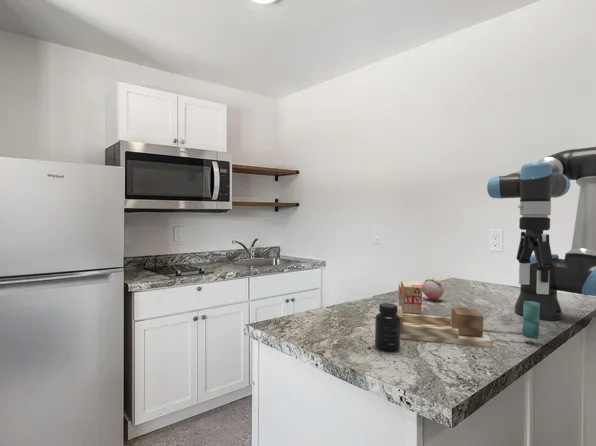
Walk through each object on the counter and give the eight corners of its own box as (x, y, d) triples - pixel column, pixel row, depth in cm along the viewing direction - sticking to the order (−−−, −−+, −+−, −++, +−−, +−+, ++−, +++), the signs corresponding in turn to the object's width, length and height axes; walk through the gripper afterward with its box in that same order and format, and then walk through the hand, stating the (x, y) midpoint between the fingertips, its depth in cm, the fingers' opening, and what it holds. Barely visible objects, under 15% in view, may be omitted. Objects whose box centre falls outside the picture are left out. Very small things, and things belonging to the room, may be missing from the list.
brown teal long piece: (532, 332, 110) (533, 299, 110) (544, 342, 102) (546, 306, 101) (451, 325, 116) (452, 294, 116) (456, 334, 107) (457, 300, 107)
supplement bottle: (371, 343, 104) (372, 302, 103) (394, 343, 104) (395, 301, 104) (379, 352, 97) (380, 308, 97) (403, 352, 97) (405, 308, 97)
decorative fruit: (448, 301, 158) (448, 278, 157) (436, 303, 153) (437, 280, 153) (429, 297, 165) (430, 275, 165) (418, 299, 161) (418, 276, 160)
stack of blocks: (398, 305, 149) (399, 276, 148) (414, 306, 147) (414, 276, 147) (402, 320, 128) (403, 285, 127) (421, 322, 126) (422, 286, 126)
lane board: (479, 331, 116) (480, 311, 116) (492, 347, 103) (493, 324, 102) (395, 324, 122) (396, 305, 122) (397, 338, 109) (397, 316, 108)
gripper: (506, 215, 119) (504, 280, 119) (537, 216, 94) (535, 297, 95) (532, 216, 117) (530, 281, 118) (570, 217, 93) (568, 299, 93)
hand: (532, 288), depth 106 cm, fingers open, 13 cm apart
